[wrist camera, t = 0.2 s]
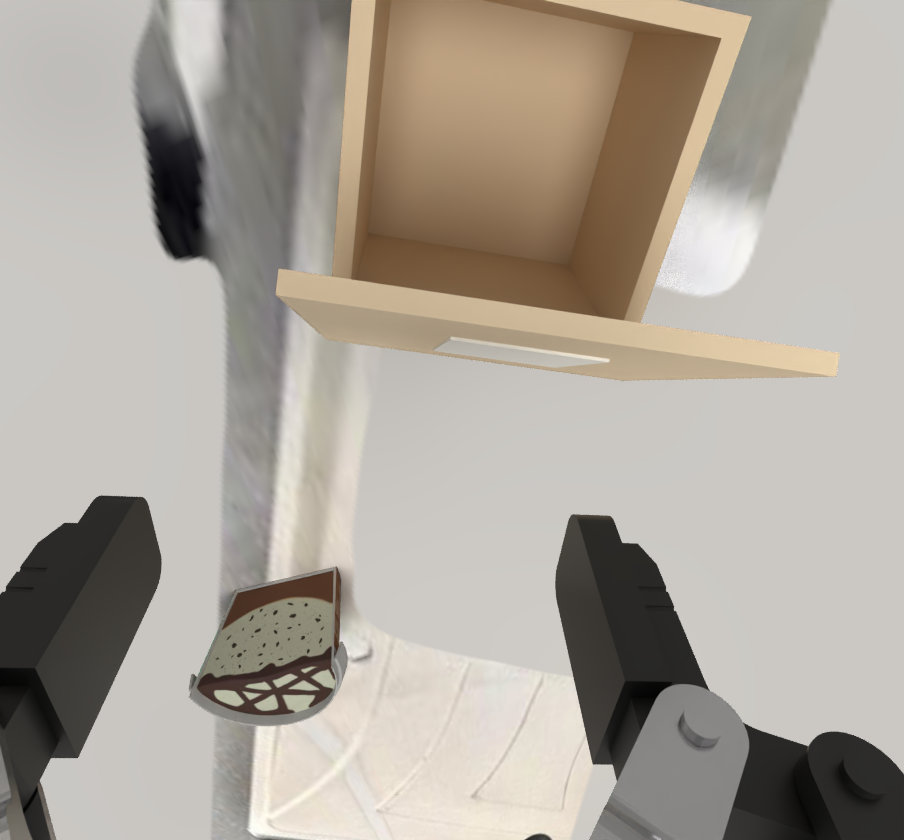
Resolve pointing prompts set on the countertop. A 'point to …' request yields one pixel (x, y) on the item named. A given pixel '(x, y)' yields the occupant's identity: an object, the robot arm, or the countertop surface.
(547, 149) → the carton
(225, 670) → the food container
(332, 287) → the lid flap
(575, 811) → the countertop surface
